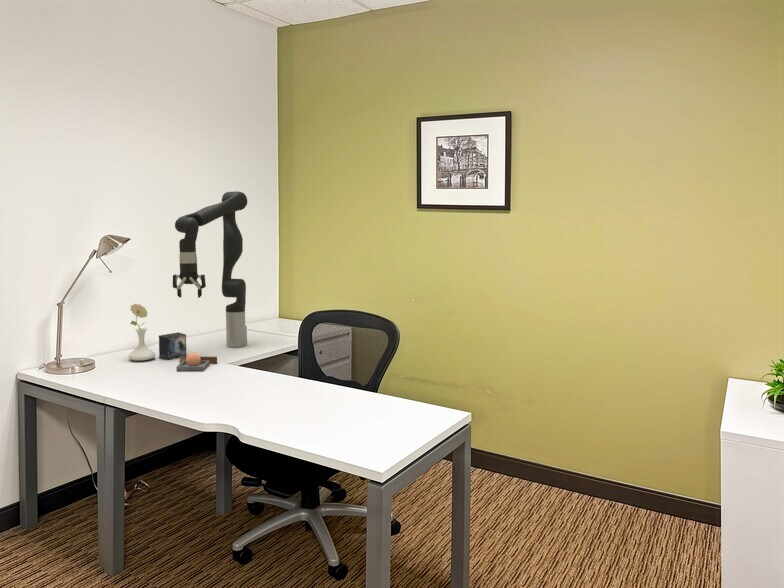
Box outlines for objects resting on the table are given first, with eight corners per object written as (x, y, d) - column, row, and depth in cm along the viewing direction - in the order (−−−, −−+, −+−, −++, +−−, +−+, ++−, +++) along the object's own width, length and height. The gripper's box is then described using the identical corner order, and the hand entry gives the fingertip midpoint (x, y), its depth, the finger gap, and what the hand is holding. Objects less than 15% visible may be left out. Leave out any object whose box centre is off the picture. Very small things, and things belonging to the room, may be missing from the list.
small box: (167, 360, 284) (166, 337, 283) (158, 358, 288) (157, 335, 287) (187, 356, 293) (186, 333, 291) (178, 354, 297) (178, 332, 295)
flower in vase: (161, 359, 287) (159, 303, 283) (138, 363, 278) (135, 306, 274) (144, 354, 294) (142, 301, 291) (121, 359, 285) (118, 304, 282)
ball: (193, 364, 275) (192, 350, 274) (203, 366, 273) (203, 352, 272) (182, 367, 270) (182, 353, 269) (193, 369, 267) (193, 355, 266)
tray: (184, 364, 277) (183, 360, 276) (209, 364, 277) (209, 360, 277) (176, 371, 266) (176, 366, 266) (203, 371, 266) (203, 366, 266)
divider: (180, 363, 280) (180, 356, 279) (217, 363, 280) (217, 356, 280) (179, 363, 279) (179, 357, 278) (216, 363, 279) (216, 357, 279)
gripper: (169, 262, 284) (171, 298, 287) (202, 262, 285) (203, 298, 288) (174, 260, 292) (176, 296, 294) (206, 260, 292) (207, 296, 295)
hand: (189, 297), depth 291 cm, fingers open, 8 cm apart
